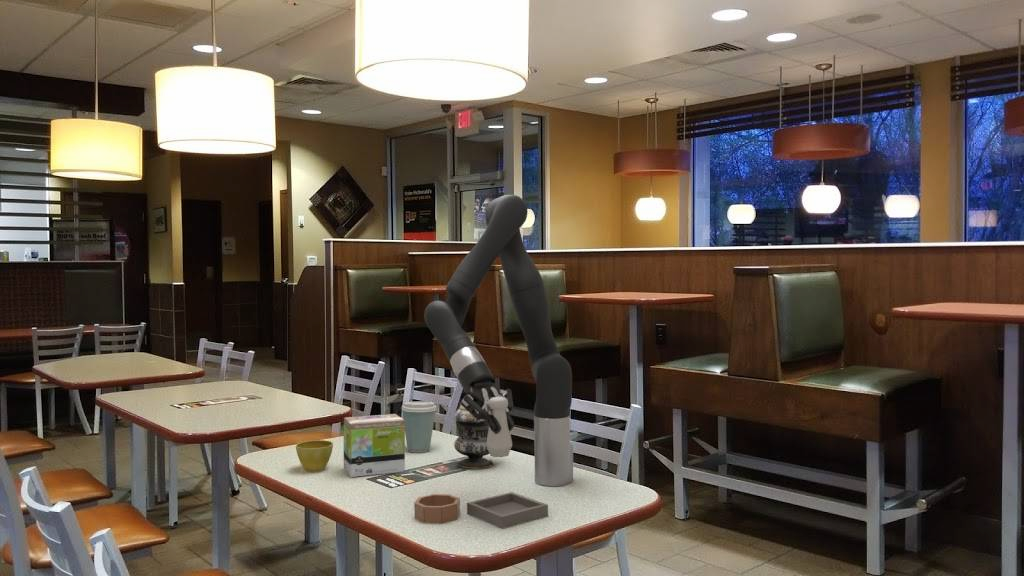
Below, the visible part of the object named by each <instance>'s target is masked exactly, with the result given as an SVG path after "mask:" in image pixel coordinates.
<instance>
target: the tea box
mask: <svg viewBox="0 0 1024 576" xmlns="http://www.w3.org/2000/svg"><path fill="white" fill-rule="evenodd" d="M405 445H406V435H405V420H404V419H403V417H401V416H399V415H398V414H397V413H390V414H389V413H388V414H377V415H376V414H374V415H362V416H346V417H343V470H344V471H345V472H346V473H347V474H348V476H349V477H350V478H356V477H363V476H373V475H383V474H386V475H387V474H394V473H395V474H397V473H404V472H405V470H406V469H405V468H406V467H405V466H406V463H405V461H406V460H405V459H406V448H405V447H406V446H405Z"/></svg>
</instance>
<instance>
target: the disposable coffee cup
mask: <svg viewBox="0 0 1024 576" xmlns="http://www.w3.org/2000/svg"><path fill="white" fill-rule="evenodd" d="M401 410H402V419H404V420H405V443H406V448H407V451H408V452H409V453H418V454H420V453H426V452H428V451H429V450H430V448H431V443H432V437H433V431H434V423H435V417H436V412H437V405H436V403H435V402H431V401H408V402H404V403H403V404H402V405H401Z"/></svg>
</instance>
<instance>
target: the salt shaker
mask: <svg viewBox="0 0 1024 576" xmlns="http://www.w3.org/2000/svg"><path fill="white" fill-rule="evenodd" d="M507 407H508V400H507V399H506V398H505V397H501V396H500V397H493V398H491V399H490V400H489V408H491V410H492V412H493V414H492V415H494V417H495V418H496V419H497V421H498V423H499V424H500V426H501V430H500V432H499V433H497V434H495V433H494V432H493V431H492V430H491V429H490V427H489V430H488V436H487V443H486V446H487V449H488V451H489V453H490V454H489V456H491V457H493V458H503V457H509V453H510V451H511V449H512V448H513V440H512V435H511V431H509V427H508V422H507V417H506V412H505V408H507Z"/></svg>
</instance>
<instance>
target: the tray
mask: <svg viewBox="0 0 1024 576" xmlns="http://www.w3.org/2000/svg"><path fill="white" fill-rule="evenodd" d="M466 514H467V515H469V516H470V517H474V518H477V519H479V520H481V521H484V522H486V523H488V524H491V525H493V526H495V527H498V528H500V529H506V528H509V527H512V526H516V525H520V524H524V523H528V522H531V521H534V520H538V519H541V518H542V519H543V518H545V517H548V516H549V504H547V503H544V502H541V501H538V500H535V499H533V498H530V497H528V496H524V495H521V494H519V493H516V492H513V491H509V492H505V493H501V494H498V495H494V496H489V497H486V498H482V499H477V500H473V501H468V502H466Z"/></svg>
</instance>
